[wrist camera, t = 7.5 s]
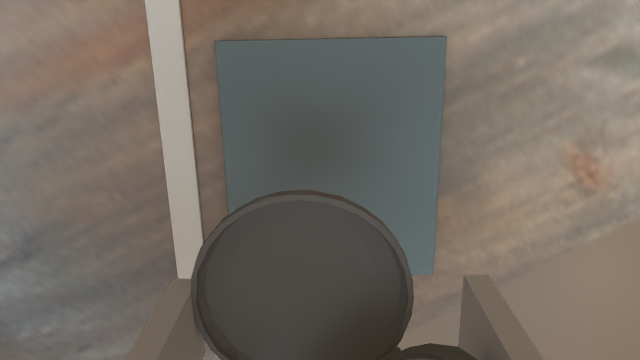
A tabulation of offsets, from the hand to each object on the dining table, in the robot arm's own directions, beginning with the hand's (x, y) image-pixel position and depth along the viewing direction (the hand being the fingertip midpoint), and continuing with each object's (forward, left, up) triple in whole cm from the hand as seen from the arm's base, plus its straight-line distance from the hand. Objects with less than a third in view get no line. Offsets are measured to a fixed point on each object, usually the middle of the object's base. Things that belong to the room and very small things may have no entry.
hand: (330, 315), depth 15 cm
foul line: (-10, 0, -18) cm, 20 cm away
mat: (0, 0, -18) cm, 18 cm away
